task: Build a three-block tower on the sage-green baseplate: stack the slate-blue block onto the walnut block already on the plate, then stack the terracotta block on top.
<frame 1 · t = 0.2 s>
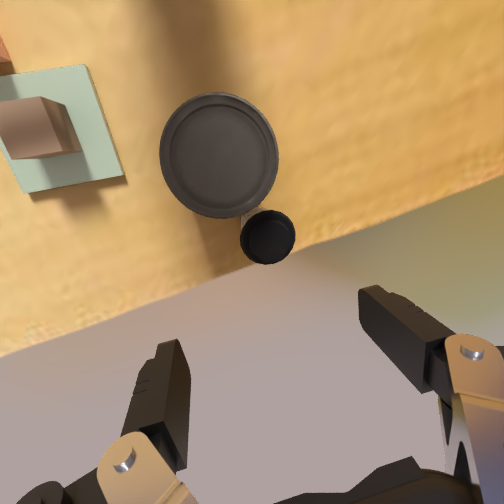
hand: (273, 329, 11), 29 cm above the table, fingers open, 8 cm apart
coffee cup: (255, 221, 40), on the table
baseplate: (56, 133, 31), on the table
coffee can: (214, 158, 36), on the table
walnut block: (52, 132, 30), point 1 cm above the table, touching baseplate
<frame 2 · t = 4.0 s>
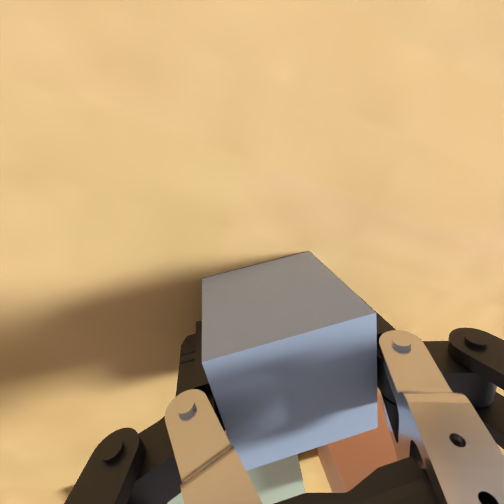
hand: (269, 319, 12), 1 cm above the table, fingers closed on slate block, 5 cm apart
slate block: (266, 309, 13), on the table, touching gripper
terracotta block: (350, 419, 17), on the table
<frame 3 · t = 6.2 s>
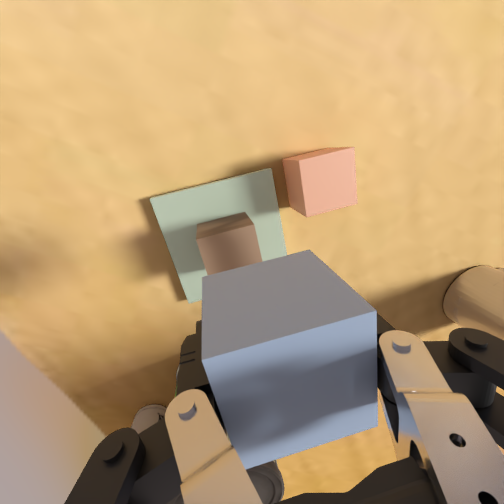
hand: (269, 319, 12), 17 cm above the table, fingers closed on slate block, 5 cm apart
coffee cup: (153, 415, 36), on the table
baseplate: (226, 237, 28), on the table
slate block: (266, 308, 13), point 16 cm above the table, touching gripper
coffee can: (216, 372, 35), on the table
terracotta block: (308, 178, 28), on the table
walnut block: (227, 240, 27), point 1 cm above the table, touching baseplate
when the fingers open (8 cm above the table, at t = 8.6 s): slate block drops 1 cm, resting on walnut block.
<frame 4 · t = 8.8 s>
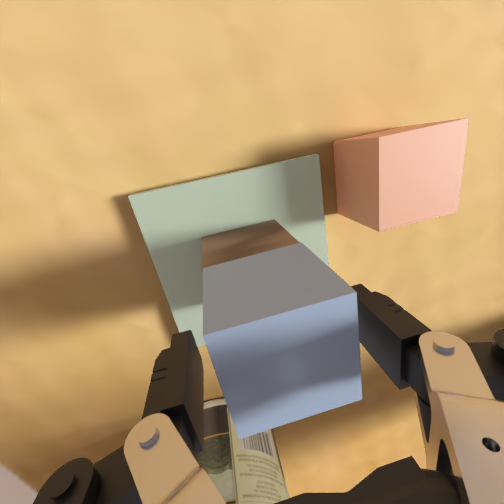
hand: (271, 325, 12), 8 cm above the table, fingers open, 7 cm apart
baseplate: (244, 256, 19), on the table
slate block: (262, 297, 14), point 6 cm above the table, touching walnut block
coffee can: (221, 433, 26), on the table
terracotta block: (367, 171, 19), on the table
walnut block: (246, 261, 18), point 1 cm above the table, touching baseplate, slate block
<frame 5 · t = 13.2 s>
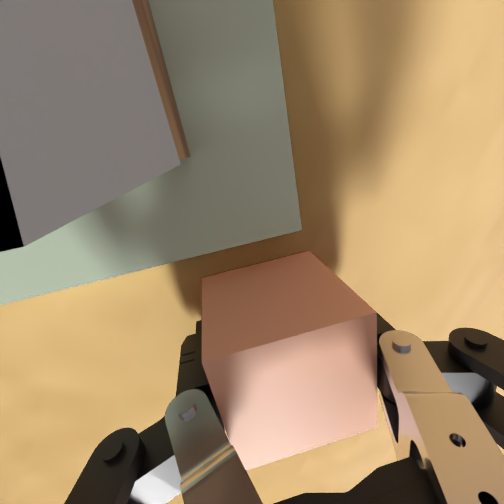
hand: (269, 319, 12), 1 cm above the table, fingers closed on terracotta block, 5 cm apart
baseplate: (94, 92, 8), on the table
terracotta block: (266, 309, 13), on the table, touching gripper
walnut block: (80, 84, 8), point 1 cm above the table, touching baseplate, slate block
when the fingers open (13 cm above the table, at t = 16.9 s): terracotta block drops 1 cm, resting on slate block.
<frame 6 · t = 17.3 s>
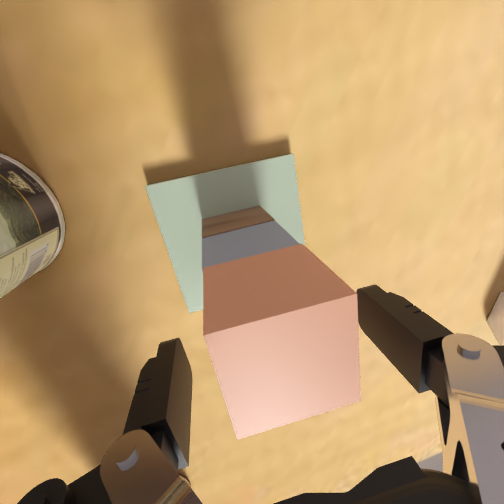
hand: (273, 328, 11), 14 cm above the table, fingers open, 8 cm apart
baseplate: (236, 236, 24), on the table
slate block: (246, 262, 18), point 6 cm above the table, touching terracotta block, walnut block
terracotta block: (262, 298, 14), point 11 cm above the table, touching slate block
walnut block: (237, 239, 23), point 1 cm above the table, touching baseplate, slate block
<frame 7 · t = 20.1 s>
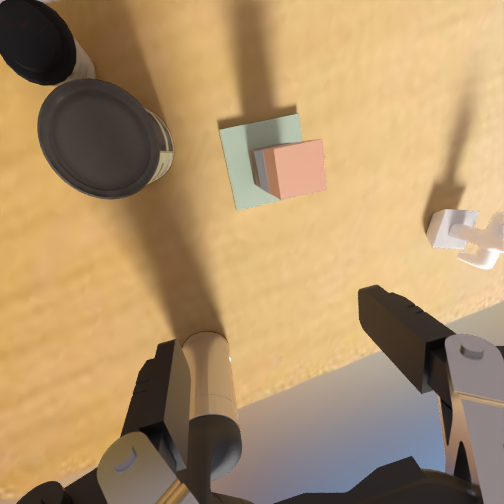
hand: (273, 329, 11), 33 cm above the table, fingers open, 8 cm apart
coffee cup: (76, 70, 33), on the table
baseplate: (265, 163, 41), on the table
slate block: (275, 166, 35), point 6 cm above the table, touching terracotta block, walnut block
coffee can: (136, 146, 37), on the table
terracotta block: (286, 167, 31), point 11 cm above the table, touching slate block
walnut block: (266, 164, 40), point 1 cm above the table, touching baseplate, slate block
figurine: (438, 224, 51), on the table
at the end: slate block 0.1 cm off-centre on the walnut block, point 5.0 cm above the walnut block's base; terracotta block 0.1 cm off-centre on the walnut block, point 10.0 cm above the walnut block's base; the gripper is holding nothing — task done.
